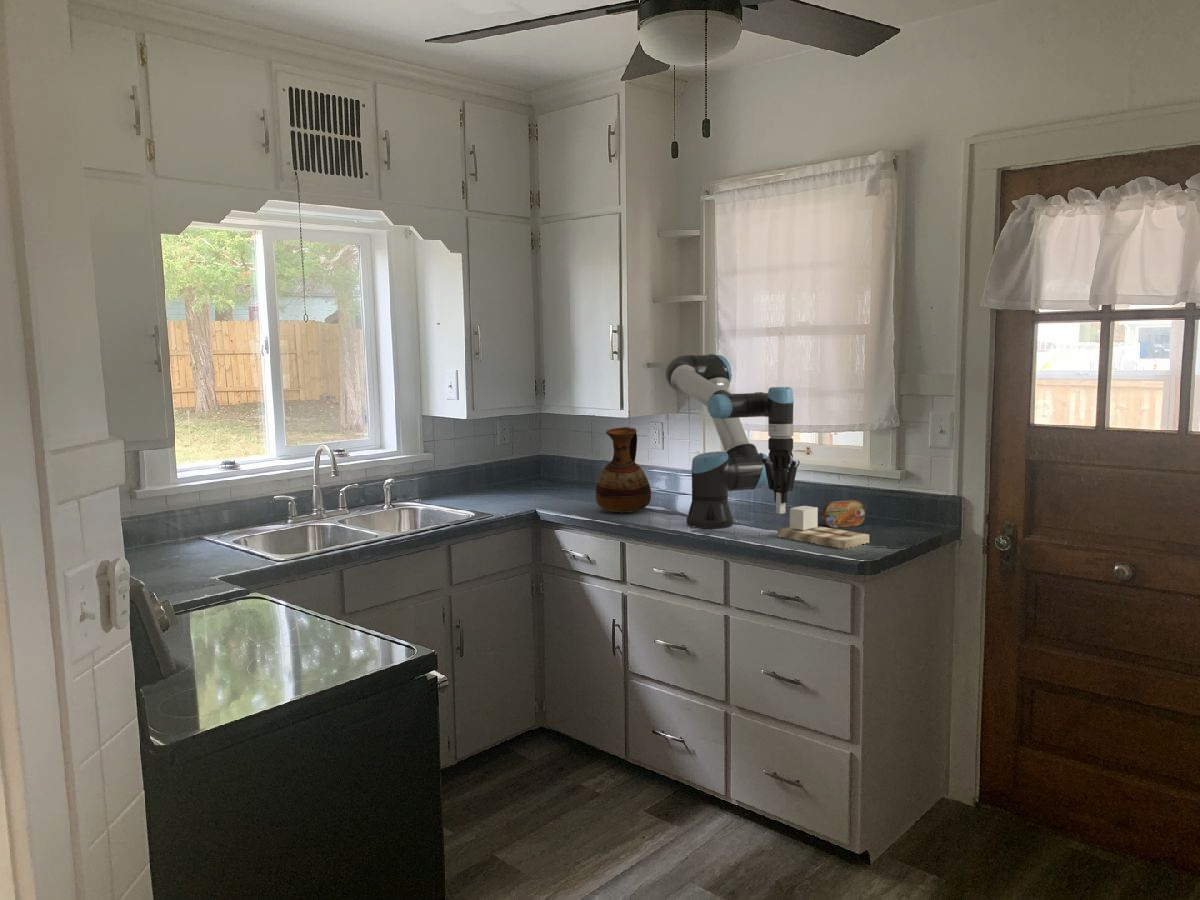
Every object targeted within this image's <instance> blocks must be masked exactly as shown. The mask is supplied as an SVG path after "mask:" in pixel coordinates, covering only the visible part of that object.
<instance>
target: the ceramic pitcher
mask: <svg viewBox="0 0 1200 900" xmlns="http://www.w3.org/2000/svg"><path fill="white" fill-rule="evenodd" d="M605 433H606V435H607V436H609V438H610V439H611V440H612V448H613V456H612V458H611V461H610V462H609V463H607V464H606V465H605V467H604V468H603V469H602V471H601V472H600V474H599V475H598V476H599V477H598V478H597V480H596V481H597V482H596V486H595V501H596V504H597V505H598V506H599V508H601V509H603V510H605V511H609V512H612V513H616V512H620V513H619V514H623V512H625V513H633V512H636V511H640V510H643V509H644V508H646V507H647V506H649V505H650V502H651V499H652V489H651V484H650V483H649V480H648V478H647V476H646V473H645V472H644V470H643V469H642V468H641V466H640V465H639V464H638V463H637V462H636V457H637V448H638V447H637V446H638V434H637V429H636V428H633V427H629V426H624V427H623V426H622V427H617V428H611V429H607V430H606V431H605Z"/></svg>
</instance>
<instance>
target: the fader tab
mask: <svg viewBox="0 0 1200 900" xmlns="http://www.w3.org/2000/svg"><path fill="white" fill-rule="evenodd" d="M818 512H819V508H818V507H817V506H815V507H814V506H809V505H801V506H800V505H799V506H794V507H790V508H789V526H790V528H793V529H799V530H806V529H811V528H815V527H817V526H818V525H819V524H818V521H819V520H818V515H819V513H818Z"/></svg>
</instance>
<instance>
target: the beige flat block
mask: <svg viewBox="0 0 1200 900" xmlns="http://www.w3.org/2000/svg"><path fill="white" fill-rule="evenodd" d="M778 536H780V537H779V538H781V537H785V538H784V539H786V538H790V539H789V540H792V539H795V540H794V541H797V540H799V541H798V542H802V541H805V542H804V543H808V542H810V543H809V544H813V543H815V544H814V545H820V546H823V547H824V546H826V547H829V548H830V547H831V548H835V547H837V549H840V548H843V549H842V550H847V549H846V548H848V549H851V548H850V547H852V548H856V547H859V546H858V545H860V546H863V545H862V544H864V545H866V543H868V544H869V543H870V534H867V533H862V532H855V531H851V530H850V531H849V530H844V529H839V528H832V527H824V526H821V525H819V526H818V525H817V527H815V528H811V529H806V530H799V529H793V528H790V525H789V526H785V527H781V528H778V529H777V537H778ZM855 546H856V547H855Z"/></svg>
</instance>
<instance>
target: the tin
mask: <svg viewBox="0 0 1200 900" xmlns="http://www.w3.org/2000/svg"><path fill="white" fill-rule="evenodd" d="M866 518H867V509H866V506H865V504H864V503H863V502H861V500H857V499H855V500H854V499H850V500H849V499H848V500H840V501H839V500H838V501H830V502H827V503H826V504H825V505H824V506H823V508H822V511H821V519H822V522H823V523H824V524H825V525H826V526H828V527H829V528H832V529H839V528H838V527H842V528H851V527H850V526H853V527H858V526H860V525H862V524H863V523H864V522H865V519H866Z"/></svg>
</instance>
